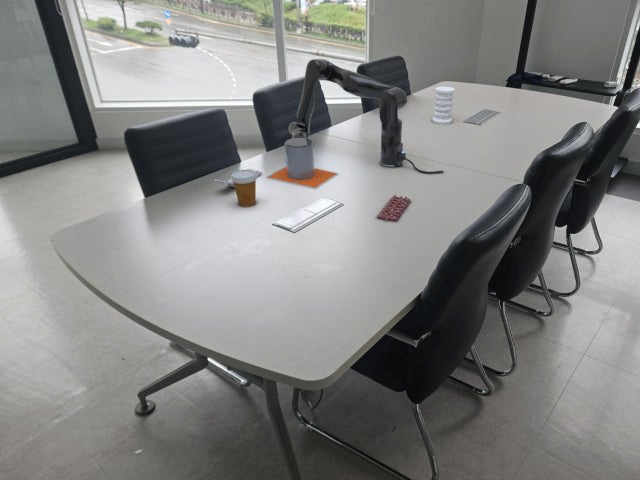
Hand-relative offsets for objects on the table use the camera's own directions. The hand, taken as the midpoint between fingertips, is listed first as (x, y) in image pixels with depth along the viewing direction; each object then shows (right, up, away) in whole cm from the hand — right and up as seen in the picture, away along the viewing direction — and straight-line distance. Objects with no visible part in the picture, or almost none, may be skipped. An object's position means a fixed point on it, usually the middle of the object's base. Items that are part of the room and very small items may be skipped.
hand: (299, 153), depth 225 cm
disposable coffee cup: (-16, -26, -28) cm, 42 cm away
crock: (+1, -10, -4) cm, 11 cm away
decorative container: (+73, +36, +69) cm, 106 cm away
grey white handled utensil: (-23, -16, -12) cm, 30 cm away
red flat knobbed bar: (+41, -30, -32) cm, 59 cm away
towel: (+2, -11, -4) cm, 11 cm away
